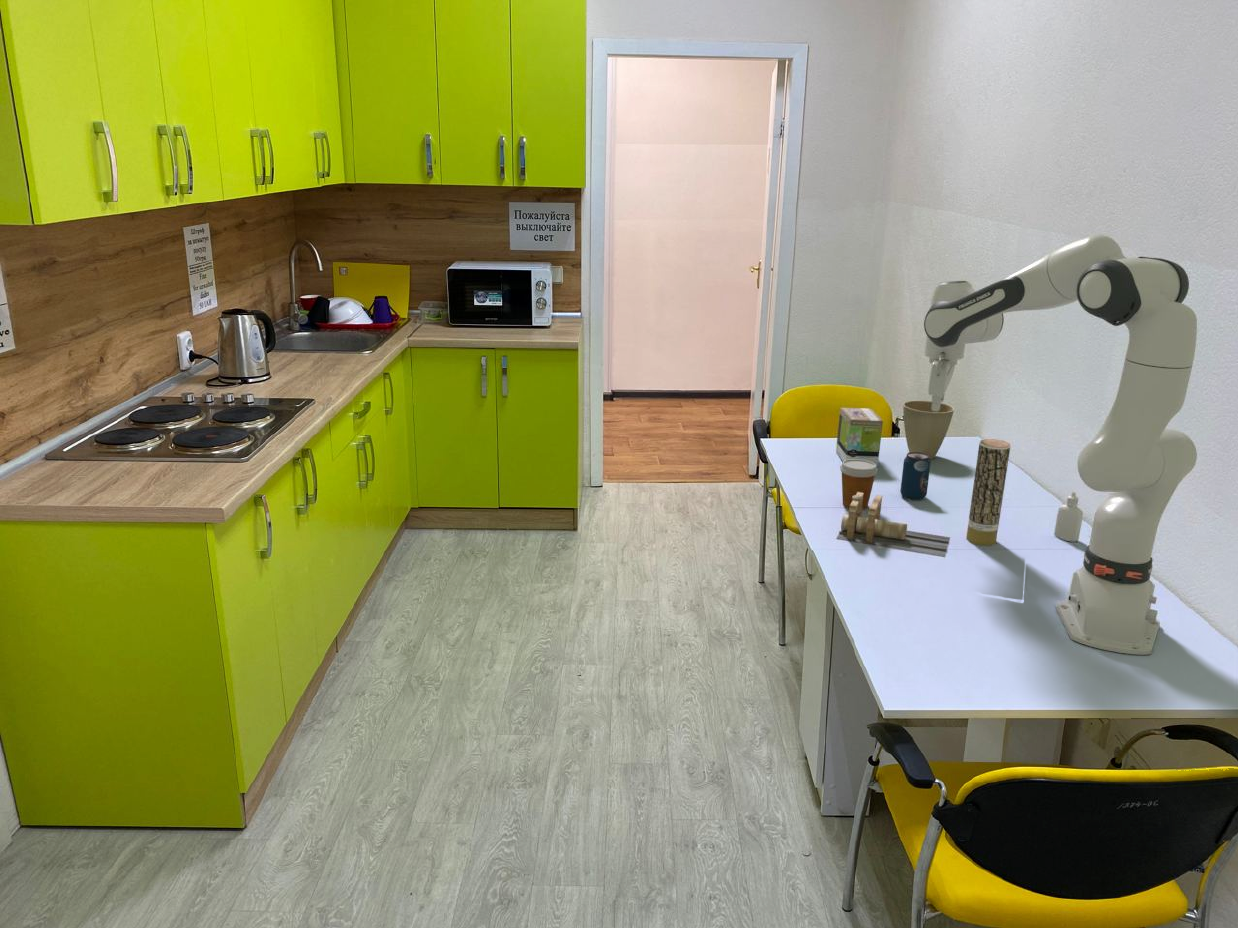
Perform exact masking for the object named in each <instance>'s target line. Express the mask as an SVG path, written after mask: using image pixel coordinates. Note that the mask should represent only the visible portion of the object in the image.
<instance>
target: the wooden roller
mask: <svg viewBox="0 0 1238 928" xmlns="http://www.w3.org/2000/svg"><path fill="white" fill-rule="evenodd" d="M848 518H849V514H843V515H842V520H841V523H840V529H841V530H842V531H847V529H848ZM867 523H868V517H863V516H861V517H858V516H856V522H855V532H854V533H861V534H866V532H867ZM841 530H840V531H841ZM907 531H908V524H907V523H902V522H895V521H889V520H883V519H880V520H877V519H875V526H874V535H873V536H879V537H885V538H891V539H897V540H904V541H905V538H906V533H907Z"/></svg>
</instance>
